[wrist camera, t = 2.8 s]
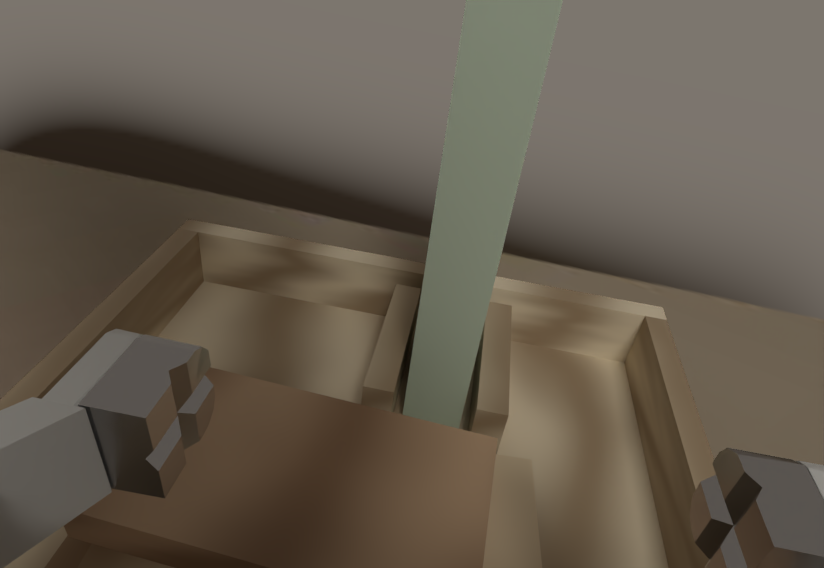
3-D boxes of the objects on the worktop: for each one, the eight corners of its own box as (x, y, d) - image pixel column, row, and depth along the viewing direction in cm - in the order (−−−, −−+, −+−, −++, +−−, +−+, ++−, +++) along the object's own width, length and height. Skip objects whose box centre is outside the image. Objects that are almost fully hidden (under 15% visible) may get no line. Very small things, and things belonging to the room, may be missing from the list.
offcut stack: (35, 624, 16) (-13, 543, 14) (164, 431, 22) (148, 350, 19) (525, 742, 15) (568, 678, 13) (525, 508, 21) (554, 433, 19)
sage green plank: (401, 418, 24) (481, -95, 13) (419, 342, 28) (490, -96, 17) (458, 430, 24) (582, -80, 13) (467, 352, 28) (568, -85, 17)
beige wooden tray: (-152, 709, 15) (-243, 632, 13) (197, 289, 32) (188, 219, 29) (759, 944, 14) (867, 911, 11) (631, 374, 30) (662, 307, 27)
